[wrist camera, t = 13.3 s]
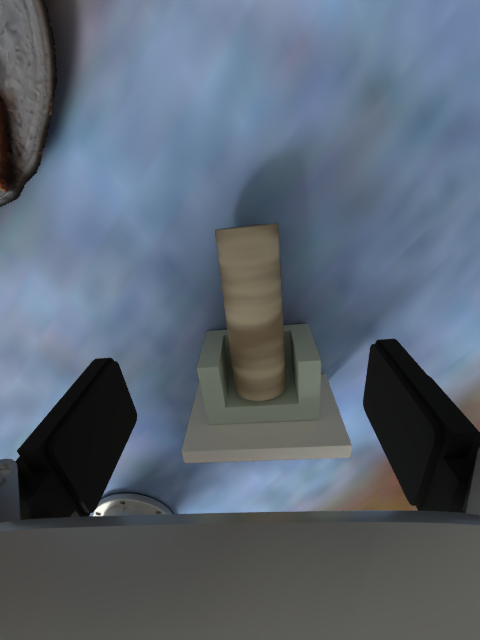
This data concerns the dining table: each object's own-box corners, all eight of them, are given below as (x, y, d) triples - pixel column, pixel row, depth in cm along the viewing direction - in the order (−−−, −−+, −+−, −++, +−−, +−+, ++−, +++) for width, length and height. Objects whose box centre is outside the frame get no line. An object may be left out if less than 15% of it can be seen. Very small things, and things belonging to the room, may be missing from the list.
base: (325, 384, 31) (350, 457, 23) (201, 391, 32) (184, 463, 24) (325, 373, 30) (351, 445, 22) (199, 381, 32) (181, 451, 24)
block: (307, 376, 30) (319, 419, 25) (216, 381, 31) (208, 424, 26) (307, 323, 27) (321, 360, 22) (206, 330, 28) (196, 368, 23)
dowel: (283, 369, 28) (289, 399, 24) (235, 372, 28) (232, 402, 24) (275, 222, 23) (281, 224, 19) (218, 228, 24) (210, 231, 19)
